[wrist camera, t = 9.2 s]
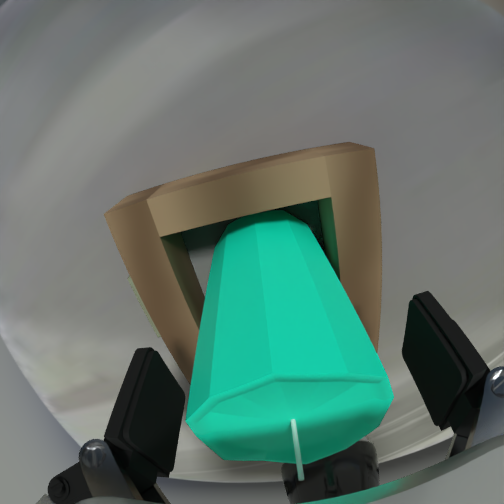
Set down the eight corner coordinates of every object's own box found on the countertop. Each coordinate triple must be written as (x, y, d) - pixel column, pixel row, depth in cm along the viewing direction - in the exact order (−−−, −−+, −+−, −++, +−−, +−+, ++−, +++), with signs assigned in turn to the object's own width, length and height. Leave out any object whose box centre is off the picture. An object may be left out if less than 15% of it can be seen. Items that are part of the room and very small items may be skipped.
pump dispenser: (329, 403, 23) (362, 549, 9) (381, 421, 26) (414, 527, 12) (258, 442, 26) (265, 562, 13) (317, 456, 29) (333, 552, 16)
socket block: (349, 141, 13) (374, 148, 10) (358, 396, 23) (366, 421, 20) (121, 198, 14) (97, 216, 11) (230, 421, 24) (230, 447, 21)
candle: (227, 196, 14) (191, 417, 4) (334, 224, 15) (460, 410, 4) (204, 291, 17) (174, 495, 6) (298, 310, 18) (343, 496, 7)
